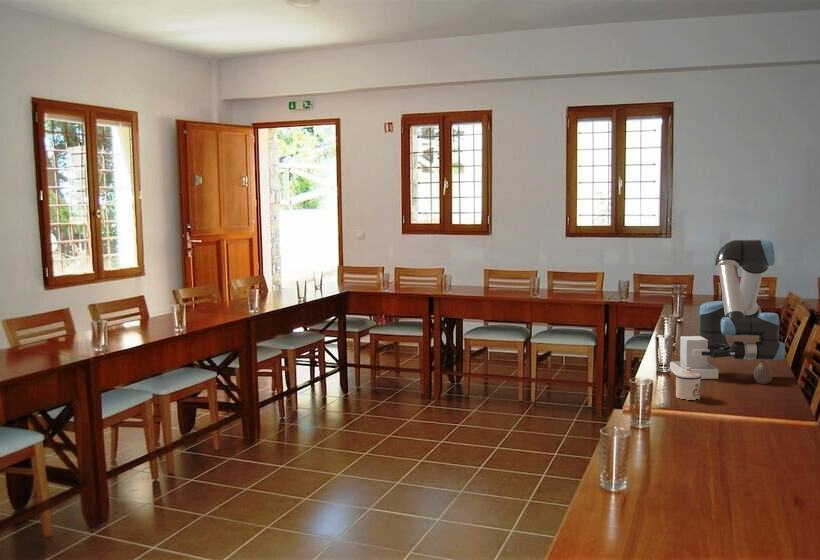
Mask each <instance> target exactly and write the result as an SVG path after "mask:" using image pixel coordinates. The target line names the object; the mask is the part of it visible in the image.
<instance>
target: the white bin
mask: <svg viewBox="0 0 820 560" xmlns="http://www.w3.org/2000/svg"><path fill="white" fill-rule="evenodd" d="M670 369H671V371H672V372H673V373H674V374H673V373H672V372H671V371H670V372H671V373H672V374H673V375H675V376H676V373H677V372H681V371H683V370H686V369H682V368H681V367H680V361H669V370H670ZM691 370H693V371H695V372H697V373H699V374H700V375H701V380H706V379H707V380H708V379H709V380H712V379H715V380H717V379H718V380H719V368H717V367H716V366H714V365H713V364H711V363H708V362H707V369H691Z"/></svg>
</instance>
